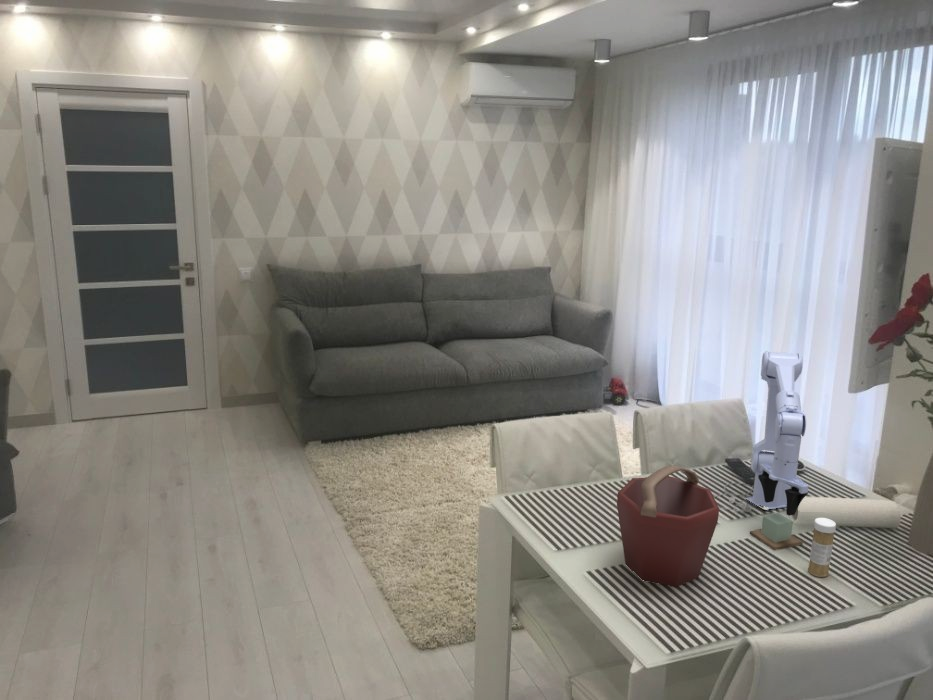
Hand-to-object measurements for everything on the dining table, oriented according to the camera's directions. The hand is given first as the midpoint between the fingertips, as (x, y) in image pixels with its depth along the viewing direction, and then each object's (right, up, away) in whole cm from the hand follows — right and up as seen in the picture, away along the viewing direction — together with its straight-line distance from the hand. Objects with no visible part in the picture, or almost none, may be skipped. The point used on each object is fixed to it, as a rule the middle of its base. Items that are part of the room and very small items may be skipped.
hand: (779, 507), depth 190 cm
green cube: (0, -8, +2) cm, 8 cm away
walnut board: (0, -8, +2) cm, 9 cm away
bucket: (-34, -12, -12) cm, 38 cm away
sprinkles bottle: (+3, -13, -14) cm, 19 cm away
